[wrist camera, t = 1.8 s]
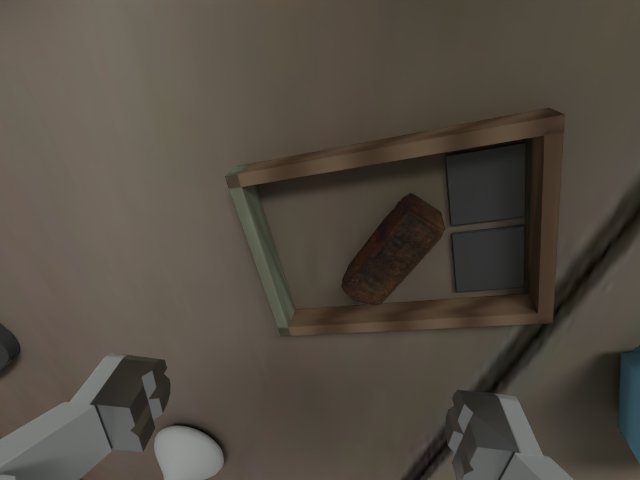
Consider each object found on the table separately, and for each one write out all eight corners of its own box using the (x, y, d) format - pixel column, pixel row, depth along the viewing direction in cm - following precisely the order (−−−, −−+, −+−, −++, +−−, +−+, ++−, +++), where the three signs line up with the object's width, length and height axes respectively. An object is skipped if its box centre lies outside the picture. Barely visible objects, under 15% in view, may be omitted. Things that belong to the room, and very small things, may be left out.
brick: (405, 187, 33) (406, 208, 29) (442, 210, 34) (447, 234, 29) (344, 267, 38) (337, 294, 34) (376, 287, 39) (373, 315, 35)
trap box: (549, 108, 28) (564, 114, 25) (541, 302, 36) (552, 323, 33) (237, 166, 35) (224, 176, 32) (288, 318, 43) (280, 336, 40)
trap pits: (524, 142, 29) (525, 143, 29) (522, 284, 35) (523, 287, 35) (445, 155, 31) (445, 156, 31) (456, 289, 37) (456, 291, 37)
